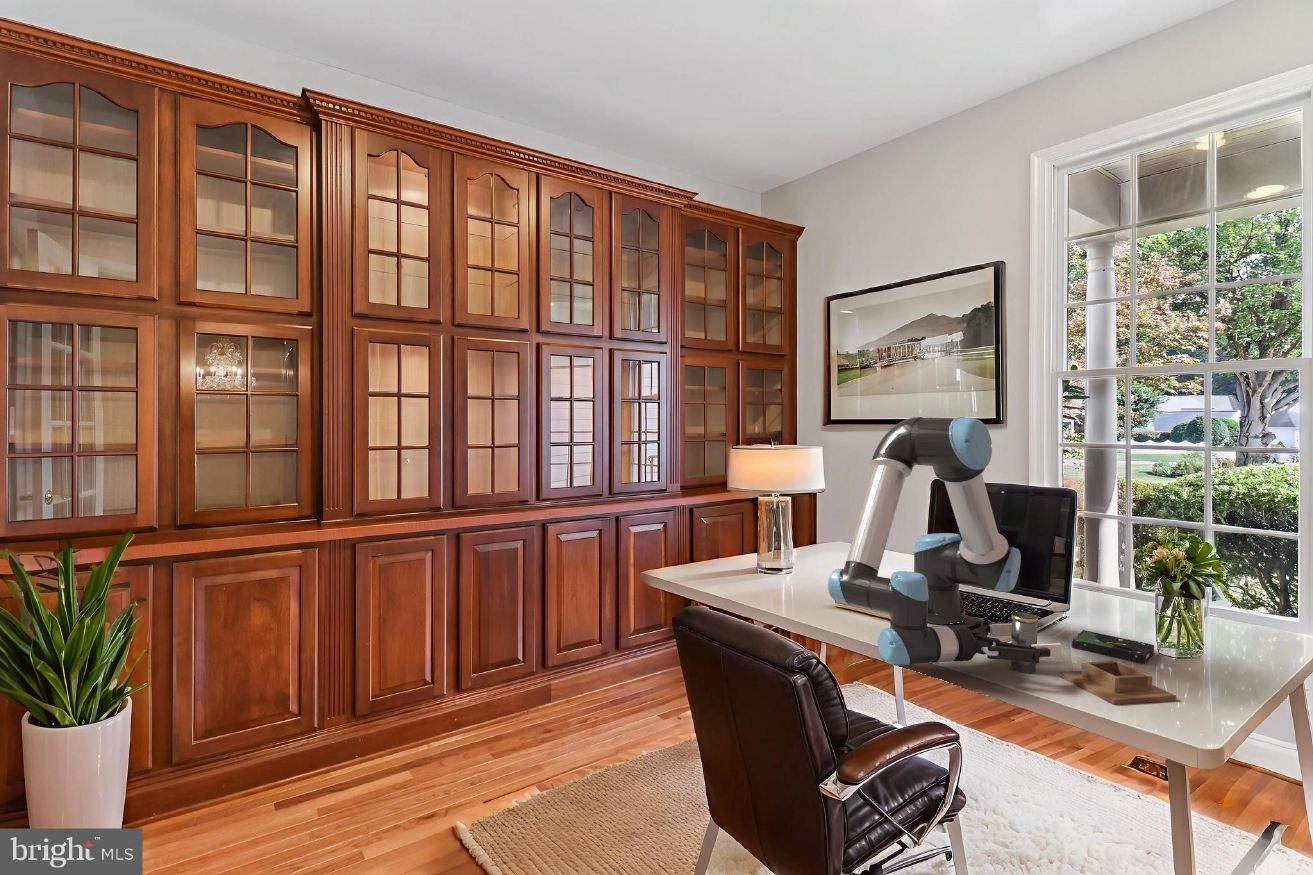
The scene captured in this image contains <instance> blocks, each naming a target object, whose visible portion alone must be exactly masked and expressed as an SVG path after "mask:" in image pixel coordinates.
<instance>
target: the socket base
mask: <svg viewBox="0 0 1313 875" xmlns="http://www.w3.org/2000/svg"><path fill="white" fill-rule="evenodd" d="M1059 673H1060V674H1059V677H1061V678H1062V679H1064V680H1066V681H1067V682H1070V683H1072V684H1073V685H1075V686H1077V687H1079V688H1081V689H1083V690H1084V691H1087V692H1088V693H1090V694H1092V695H1094V696H1097V697H1098V698H1100V699H1102V700H1104V701H1106V702H1107V703H1110V704H1111V705H1113V706H1115V705H1128V704H1130V705H1131V704H1145V703H1157V702H1159V703H1160V702H1172V701H1176V700H1177V695H1176V694H1174V693H1172V692H1169V691H1167V690H1165V689H1162V688H1160V687H1158V686H1156V685H1154V684H1153V675H1150V674H1148V673H1146V672H1144V671H1142V670H1139V669H1137V668H1135V667H1133V666H1130V665H1128V664H1126V663H1123V662H1121V661H1119V660H1105V661H1102V660H1101V661H1087V662H1086V661H1085V662H1081V670H1073V671H1071V670H1070V671H1060V672H1059Z"/></svg>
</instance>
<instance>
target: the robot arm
mask: <svg viewBox="0 0 1313 875" xmlns="http://www.w3.org/2000/svg"><path fill="white" fill-rule="evenodd" d="M992 443H993V442H992V437H991V434H990V431H989V429H988V427H987V426H986V425H985V423H984V422H982V421H981V420H980V419H976V418H970V417H965V416H960V417H959V416H958V417H922V416H914V417H910V418H906V419H904V420H902V421H899V423H897V424H896V425H894V426H893V427H892V428H891V429H889V430H888V431H887V433H885V434H884V436H883V437H882V439H881V440H880V441H879V443H878V445H877V446H876V449H875V450H874V452H873V456H872V459H871V462H870V465H871V467H872V469H873V470H872V474H871V477H870V481H869V483H868V488H867V491H866V494H865V498H864V501H863V505H862V507H861V511H860V514H859V517H858V521H857V524H856V528H855V530H854V534H853V537H852V538H853V539H852V542H851V545H850V549H849V551H848V555H847V557H846V561H845V564H844V567H843V568H836V569H834V570H833V571H832V572H831V574H830V575H829V578H828V581H827V591H828V594H829V596H830V598H831V599H832V600H834V601H837V602H839V603H843V604H846V605H847V606H854V607H855V606H856V607H860V608H865V609H869V610H872V611H873V610H874V611H876V612H880V613H886V614H888V615H890V616H889V617H890V623H889V624H890V625H889V627H886V628H883V629H881V630H880V631H879V632H878V637H877V648H878V652H879V654H880V657H881V658H882V660H883V661H884V662H886V663H887V664H889V665H905V666H909V665H915V664H919V665H920V664H933V663H934V664H936V665H939V664H940V663H951V662H953V663H954V662H958V663H959V662H970V661H971V660H972V659H973V658H974V657H975V656H976V654H979V655H983V656H984V655H987V656H986V658H987V659H988V660H1002V661H1003V660H1004V661H1011V660H1012V661H1022V662H1031V663H1036V664H1040V659H1044V658H1045V659H1047V658H1048V659H1049V658H1062V646H1063V645H1062V644H1061V643H1059V642H1056V643H1055V642H1053V643H1039V644H1038V643H1037V644H1033V645H1031V646H1026V645H1020V644H1014V643H1011V642H1007V641H1001V640H1000V639H999V638H997V637H1011V635H1012V622H1009V623H991V624H990V621H989V620H987V619H985V620H983V621H982V622H983V623H982V622H981V621H979V620H978V621H977V620H976V621H973V622H971V623H967V624H963V625H962V624H954V625H943V624H950V623H957V622H962V621H963V620H965V621H966V609H965V606H964V604H963V600H962V598H961V595H960V594H961V593H960V585H964V586H968V587H971V588H972V587H973V588H978V589H983V590H989V591H992V592H1002V593H1008V592H1011V591H1012V590H1013V589H1014V588H1015V586H1016V584H1017V581H1018V578H1019V573H1020V568H1021V562H1022V561H1021V555H1022V554H1021V551H1020V550H1019V548H1017V547H1016V548H1015V547H1014V546H1012V547H1009V544H1008V543H1009V542H1008V540H1007V539H1006V538H1005V537H1004V536H1003V535H1002V534H1000V533H999V531H998V528H997V524H996V520H995V517H994V513H993V509H992V505H991V501H990V498H989V494H988V492H987V487H986V484H985V480H984V476H983V473H984V472H985V470H986V468H987V467H988V465H989V464H990V462H991V459H992V456H993V448H992V446H991V445H992ZM915 466H925V467H926V466H927V467H932V468H933V469H932V470H933V471H934V474H935V476H936V478H937V479H938V480H940V481H942V482H944V484H945V488H946V492H947V495H948V497H949V501H950V505H951V508H952V511H953V513H954V517H955V520H956V524H957V527H958V529H959V533H960V534H958V533H957V534H956V533H949V532H947V533H946V532H944V533H943V532H942V533H927V534H923V535H922V534H921V535H919V536H917V537H916V539H915V541H914V542H915V543H914V550H913V557H914V558H913V560H914V561H913V571H907V570H899V571H895V572H893V573H892V574H891V576H890V578H889V577H885V576H884V577H883V576H880V575H879V576H878V574H879V570H880V567H881V564H882V560H883V557H884V553H885V549H886V546H887V543H888V539H889V535H890V531H891V528H892V525H893V522H894V518H895V514H896V512H897V508H898V504H899V501H900V497H901V495H902V490H903V487H904V484H905V480H906V478H908V477H910V476H911V475H912V473H913V468H914V467H915ZM927 622H929V623H927ZM962 623H963V622H962ZM928 624H934V625H933V626H932V625H931V626H928ZM935 625H936V626H935ZM994 643H995V645H994Z"/></svg>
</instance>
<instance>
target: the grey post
mask: <svg viewBox="0 0 1313 875" xmlns="http://www.w3.org/2000/svg"><path fill="white" fill-rule="evenodd" d="M1011 623H1012V635H1011V636H1010V638H1011V640H1010V643H1014V644H1020V645H1026V646H1031V645H1033V644H1038V623H1039V616H1037V615H1035V614H1032V613H1028V612H1027V613H1026V612H1018V611H1017V612H1012V613H1011ZM1010 669H1011V670H1013V671H1015V672H1018V673H1020V674H1021V673H1022V674H1029V675H1031V674H1036V672H1037V663H1031V662H1022V661H1012V660H1010Z"/></svg>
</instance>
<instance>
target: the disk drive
mask: <svg viewBox="0 0 1313 875" xmlns="http://www.w3.org/2000/svg"><path fill="white" fill-rule="evenodd" d="M1071 648H1072V649H1075V650H1079V651H1083V652H1087V653H1088V652H1089V653H1093V654H1098V655H1102V656H1106V657H1110V658H1115V659H1120V660H1123V661H1128V662H1132V663H1137V664H1140V665H1146V663H1148V661H1149V660H1150V659H1151V658H1152V656H1154V654H1155V644H1151V643H1147V642H1142V641H1138V640H1132V639H1130V638H1129V639H1128V638H1124V637H1118V636H1115V635H1110V634H1104V633H1100V632H1095V631H1090V630H1085V629H1083V630H1082V631H1080V632H1079V633H1078V634H1077V635H1076V636H1075V637H1072V641H1071Z"/></svg>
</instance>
